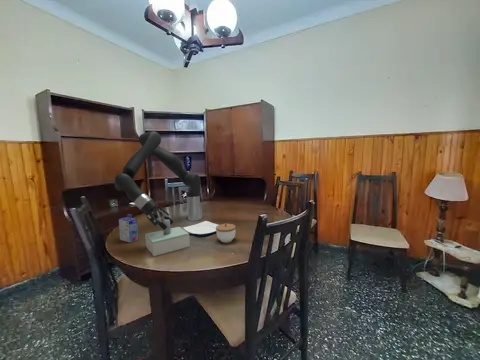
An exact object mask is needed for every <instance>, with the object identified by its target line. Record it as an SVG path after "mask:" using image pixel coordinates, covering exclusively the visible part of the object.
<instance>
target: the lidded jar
mask: <svg viewBox="0 0 480 360" xmlns="http://www.w3.org/2000/svg"><path fill="white" fill-rule="evenodd" d="M236 228H237V227H236V225H235V224H232V223H222V224H218V226H216V232H215V233H216V237H217V238H218V240H219V241H220V242H222V243H231V242H232V241H233V240H234V238H235V236H236V230H237V229H236Z"/></svg>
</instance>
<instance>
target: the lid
mask: <svg viewBox="0 0 480 360" xmlns="http://www.w3.org/2000/svg"><path fill="white" fill-rule="evenodd" d="M162 222H163V223H164V224H165V225H166V226H167V228H166V229H165V230H163V229H162V230H157V231H153V232H148V233H145V234H144V235H145V236H146V237H147V238H148V239H149V240H150V241H151V243H152V244H155V243H159V242H163V241H167V240H172V239H176V238H180V237H184V236H188V235H189V236H190V233H188V232H186V231H185V230H184V229H183V227H180V226H175V227H172V228H171V225H170V220H169V219H166V220H165V219H162ZM145 236H144V237H145ZM146 237H145V238H146Z"/></svg>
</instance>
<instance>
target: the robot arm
mask: <svg viewBox="0 0 480 360" xmlns="http://www.w3.org/2000/svg"><path fill="white" fill-rule="evenodd" d="M138 142H139V144H140V145H141V147H140V149H138V150H137V151H136V152H134V154H133V155H132V156H131V157H130V158H129V159H128V160H127V162H126V163H125V165H124V166H123V168H122V172H120V173H118V174H116V175H115V176H114V187H115V189H116V190H117V191H119V192H125V195H126V197H127V198H128V199H129V200H130V201H131V202H132V203H133V204H134V205H135V206H136V207H137V208H138V210H140V211H141V212H142V213H143V214H144V215H145V216H146V218H147V220H148V221H149V222H151V224H153V225H154V226H159V228H161V229H162V230H165V229H166V228H167V226H166V225H165V224H164V223H163V220H166V219H169V220H170V226H171V225H173V224H174V220H173V219H172V218H171V217H170V214H169V212H168V211H166V210H165V209H164V208H163V207H160V208H158V207H159V205H158V203H157V202H155V200H154V199H152V198H151V197H150V196H149V195H147V194H146V193H145V192H144V191H143V190H142V189H141V188H140V187H139V186H138V184H136V182H135V181H134V179H135V176H136V175H137V173H138V172H139V171H140V169H141V168H142V167H143V165H144V163H145V162H146V161H147V159H148V158H149V157H150V156H151V155H153V157H154V156H155V158H157V159H158V160H159V162H161V163H163V165H164V166H165V167H166V168H168V169H169V170H170V171H171V172H172V173H173V174H174V175H176V176H177V177H178V179H179V180H180V181H181V182H182V183H183V184H184V185H185V186H186V187H189V188H190V190H189V191H187V192H186V204H187V205H186V206H187V207H186V208H187V220H188V221H191V222H195V221H199V220H200V221H201V220H202V219H203V215H202V212H203V211H202V205H201V197H200V195H201V176H200V175H199V174H197V173H189V172H188V171H187V170H186V169H184V166H183V163H182V161H181V159H180V158H179V157H178V156H177V155H176V154H175V153H173V152H171V151H168V150H167V149H164V148H162V147H161V146H160V145H161V143H162V137H161V135H160V133H159V132H158V131H148V132H144V133H142V134H140V135H139V137H138Z"/></svg>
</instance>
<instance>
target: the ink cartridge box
mask: <svg viewBox="0 0 480 360" xmlns="http://www.w3.org/2000/svg"><path fill="white" fill-rule="evenodd" d="M132 215H133V214H132V213H131V214H130V213H127V216H126V217H122V218H119V219H118V224H119V225H118V226H119V228H118V229H119V240H120V241H123V242H127V243H133V242H137V241H138V240H139V231H138V229H139V227H138V219H137V218H135V217H134V218H133V217H132Z"/></svg>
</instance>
